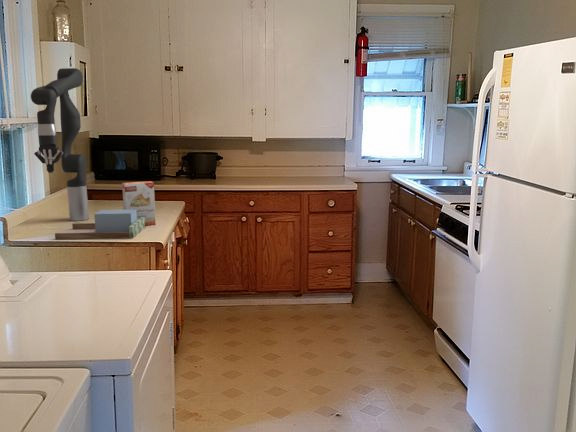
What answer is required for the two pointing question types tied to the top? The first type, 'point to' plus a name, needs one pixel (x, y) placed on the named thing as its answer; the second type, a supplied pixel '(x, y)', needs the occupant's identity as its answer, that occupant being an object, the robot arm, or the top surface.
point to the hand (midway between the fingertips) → (50, 172)
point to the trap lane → (133, 231)
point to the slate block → (114, 220)
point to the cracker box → (140, 200)
